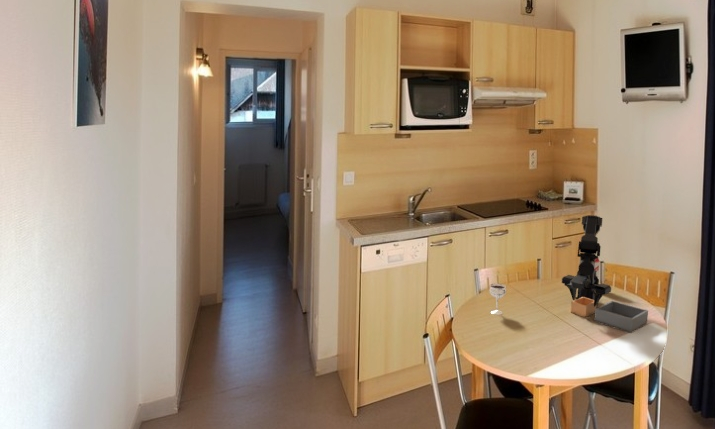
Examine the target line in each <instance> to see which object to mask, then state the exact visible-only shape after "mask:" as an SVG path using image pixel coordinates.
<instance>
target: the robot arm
mask: <svg viewBox="0 0 715 429" xmlns="http://www.w3.org/2000/svg"><path fill="white" fill-rule="evenodd" d="M581 226H582V229H583V232H584V235H582V236H581V239H580V241H579V240H578V248H577V257H578V258H580V259H579V264H578V270H577V272H576V275H572V274H567V275H564V276H563V277H562V278H561V284H564V286H566V287H567V288H568V289H569V292H570V295H571V298H572V301H574V300H576V299H578V298H581V297H585V298H589V299H592V300H594V307H596V305H597V306H598V304H599V302H600V300H601V298H602V297H603V296H604V295H607V294H609V293H611V292H612V286H611V285H610V284H605V283H602V282H601V283H600V279H599V276H596V271H595V259H598V257H600V256H601V248H602V247H601V245H600V243H599V241H598V240H599V239H598V237H597V235H598V234H599V232H600V231H601V227H602V226H603V217H600V216H598V215H595V214H594V215H593V214H588V215H583V216H582V217H581Z"/></svg>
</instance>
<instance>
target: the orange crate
mask: <svg viewBox="0 0 715 429" xmlns="http://www.w3.org/2000/svg"><path fill="white" fill-rule="evenodd" d="M570 306H571V307H570V313H572V314H574V315H576V316H580V317H584V318H587V317H589V316H591V315H593V314H595V310H596V308H598V304H597V305H596V307H594V300H592V299H589V298H585V297H581V298H578V299H575V300H571V303H570Z"/></svg>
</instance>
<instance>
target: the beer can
mask: <svg viewBox="0 0 715 429" xmlns="http://www.w3.org/2000/svg"><path fill="white" fill-rule="evenodd" d="M599 258H600V256H598V259H595V271H596V276H598V277H599V274H600V265H601V264H600V263H601V261H600V259H599Z"/></svg>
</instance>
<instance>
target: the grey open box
mask: <svg viewBox="0 0 715 429" xmlns="http://www.w3.org/2000/svg"><path fill="white" fill-rule="evenodd" d="M648 317H649V310H648V309H647V310H646V309H644V308H639V307H637V306H633V305H629V304H625V303H622V302H619V301H615V300H611V301H609V302H606V303H604V304H603V305H602V304H601V305H600V306H597V308H596V310H595V313H594V322H596V323H599V324H601V325H605V326H607V327H611V328H614V329H618V330H620V331H623V332H627V333H630V334H632V333H633V332H636V331H637V330H638V328H639V329H640V328H643V325H644V326H645V325H647V323H648Z"/></svg>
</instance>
